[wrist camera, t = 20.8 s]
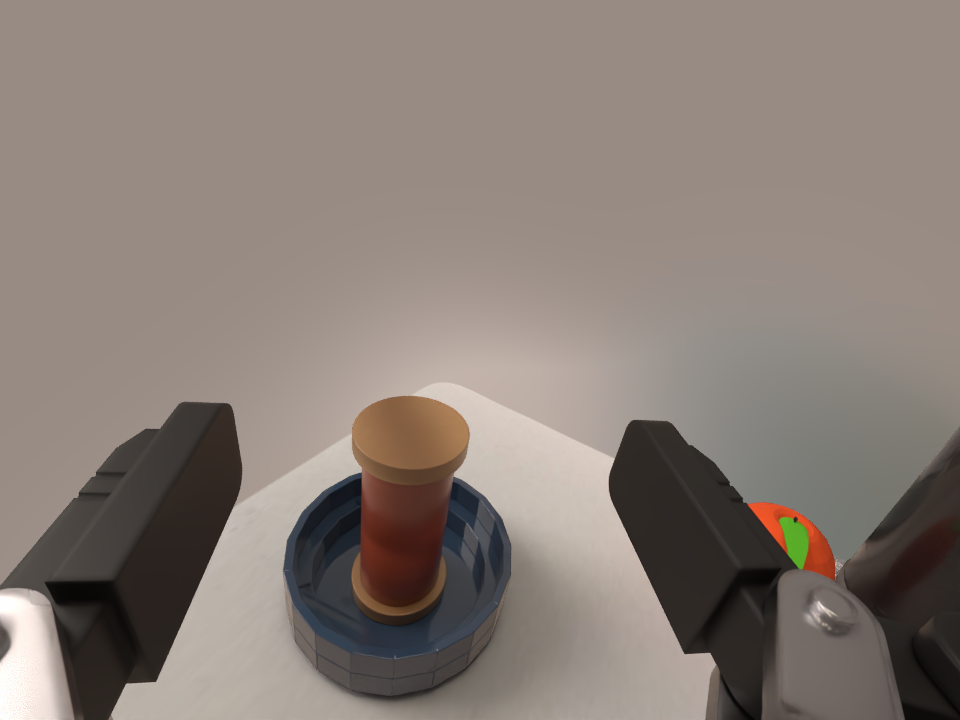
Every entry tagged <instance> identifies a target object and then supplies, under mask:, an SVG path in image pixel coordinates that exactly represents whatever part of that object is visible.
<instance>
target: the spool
mask: <svg viewBox="0 0 960 720" xmlns="http://www.w3.org/2000/svg"><path fill="white" fill-rule="evenodd" d="M469 436H470V434H469V428H468V425H467V423H466V421H465V420H464V418H463V417H462V416H461V415H460V414H459V413H458V412H457V411H456V410H454V409H453V408H451V407H450V406H448V405H446V404H444V403H442V402H439V401H436V400H433V399H429V398H425V397H418V396H399V397H392V398H387V399H384V400H381V401H378V402H376V403H373V404H371V405H370V406H368V407H367V408H365V409H364V410H363V411H362V412H361V413H360V414H359V415H358V417H357V418H356V419H355V422H354V424H353V428H352V450H353V454H354V457H355V459H356V460H357V462H358V463H359V465H360V466H361V467H362V494H361V543H360V552H359V554H358V555H357V557H356V559H355V561H354V564H353V567H352V573H351V589H352V595H353V598H354V600H355V602H356V604H357V606H358V607H359V609H360V610H361V611H362V612H363V613H364V614H365V615H366V616H368V617H369V618H371V619H372V620H374V621H377V622H379V623H382V624H386V625H405V624H409V623H413V622H415V621H418V620H420V619H421V618H423V617H425V616H426V615H427V614H429V613H430V612H431V611H432V610H433V609H434V608H435V607H436V605H437V604H438V603H439V601H440V599H441V597H442V595H443V592H444V588H445V583H446V576H447V568H446V563H445V560H444V557H443V555H442V549H443V542H444V536H445V529H446V523H447V516H448V509H449V503H450V496H451V490H452V483H453V476H454V472H455V471H456V470H457V469H458V468H459V467H460V466H461V465H462V463H463V462H464V460H465V458H466V455H467V450H468V444H469Z"/></svg>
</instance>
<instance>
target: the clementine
mask: <svg viewBox="0 0 960 720" xmlns="http://www.w3.org/2000/svg"><path fill="white" fill-rule="evenodd" d="M748 506H749V507H750V508H751V509H752V511H753V512H754V513H755V514H756V516H757V517H758V518H759V519H760V521H761V522H762V523H763V524H764V526H765V527H766V528H767V529H768V531H769V532H770V533H771V534H772V536H773V537H774V538H775V539H776V541H777V542H778V543H779V544H780V546H781V547H782V548H783V549H784V551H785V552H786V553H787V554H788V556H789V557H790V558H791V559H792V561H793V562H794V563H795V564H796V566H797V567H798V568H799V569H803V570H808V571H812V572H816V573H818V574H821V575H823V576H826V577H828V578H830V579H832V580H833V581H835V560H834V557H833V554H832V551H831V548H830V546H829V544H828V542H827V540H826V538H825V537H824V536H823V535H822V533H821V532H820V531H819V530H818V529H817V527H816V526H815V525H814V524H813V523H811V522H810V520H808V519H807V518H806V517H804V516H803V515H801V514H800V513H798V512H796V511H794V510H792V509H790V508H787V507H784V506H780V505H777V504H772V503H764V502H762V503H752V504H748Z"/></svg>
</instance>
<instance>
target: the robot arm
mask: <svg viewBox="0 0 960 720" xmlns="http://www.w3.org/2000/svg"><path fill="white" fill-rule="evenodd" d="M241 480H242V462H241V457H240V450H239V444H238V438H237V432H236V425H235V419H234V413H233V410H232V407H231V406H230V405H229V404H227V403H203V402H182V403H181V404H179V405H178V406H177V407H176V409H175V410H174V411H173V413H172V414H171V415H170V417H169V418H168V419H167V420H166V422H165V423H164V424H163V426H162V427H161V428H160V429H145V430H143V431H142V432H140V433H139V434H137V435H136V436H134V437H133V438H131V439H130V440H128V441H126V442H125V443H123V444H122V445H120V446H119V447H117V448H116V449H115V450H114V452H113V453H112V454H111V455H110V456H109V457H108V458H107V460H106V461H105V462H104V463H103V465H102V466H101V467H100V468H99V469H98V470H97V472H96V476H95V477H92V478H91V479H90V480H89V481H88V482H87V483H86V485H85V486H84V487H83V488H82V489H81V491H80V492H79V496H78V498H74V499H73V500H72V501H71V502H70V504H69V505H68V506H67V507H66V508H65V510H64V511H63V512H62V513H61V514H60V515H59V517H58V518H57V519H56V520H55V521H54V523H53V524H52V525H51V526H50V527H49V529H48V530H47V531H46V532H45V533H44V534H43V536H42V537H41V538H40V539H39V540H38V542H37V543H36V544H35V545H34V546H33V548H32V549H31V550H30V551H29V552H28V553H27V555H26V556H25V557H24V558H23V560H22V561H21V562H20V563H19V564H18V565H17V567H16V568H15V569H14V570H13V571H12V572H11V574H10V575H9V576H8V577H7V578H6V580H5V581H4V582H3V583H2V584H1V585H0V720H113V718H112V716H111V713H112V711H113V709H114V707H115V705H116V703H117V701H118V699H119V697H120V695H121V693H122V691H123V689H124V687H125V685H126V684H127V683H145V682H156V681H157V679H158V676H159V674H160V672H161V669H162V667H163V665H164V663H165V660H166V658H167V656H168V654H169V651H170V649H171V647H172V645H173V642H174V640H175V638H176V635H177V633H178V631H179V629H180V626H181V624H182V622H183V620H184V617H185V615H186V613H187V611H188V608H189V606H190V604H191V602H192V599H193V597H194V595H195V592H196V590H197V588H198V586H199V583H200V581H201V579H202V577H203V574H204V572H205V570H206V568H207V565H208V563H209V561H210V558H211V556H212V554H213V552H214V549H215V547H216V545H217V543H218V540H219V538H220V536H221V534H222V531H223V529H224V527H225V525H226V522H227V520H228V518H229V515H230V513H231V511H232V509H233V506H234V504H235V502H236V500H237V497H238V494H239V490H240V486H241ZM729 483H730V482H729V481H728V479H727V478H726V477H725V476H724V474H723V473H722V472H721V471H720V469H719V468H718V467H717V466H716V464H715V463H714V462H713V461H711V460H710V459H709V458H707V457H706V456H705V455H704V454H702V453H701V452H700V451H699V450H697V449H696V448H694V447H693V446H692V445H688V444H687V442H686V441H685V440H684V439H683V437H682V436H681V435H680V433H679V432H678V431H677V430H676V428H675V427H674V426H673V425H672V424H671V423H670V422H667V421H649V420H633V421H631V422H630V423H629V424H628V426H627V428H626V431H625V433H624V436H623V439H622V442H621V444H620V447H619V450H618V452H617V455H616V458H615V460H614V463H613V466H612V468H611V471H610V475H609V492H610V497H611V500H612V502H613V505H614V507H615V509H616V511H617V513H618V515H619V517H620V519H621V521H622V524H623V526H624V528H625V530H626V532H627V534H628V536H629V538H630V540H631V543H632V545H633V547H634V549H635V551H636V553H637V555H638V557H639V559H640V561H641V564H642V566H643V568H644V570H645V572H646V574H647V576H648V578H649V580H650V582H651V585H652V587H653V589H654V591H655V593H656V595H657V597H658V599H659V601H660V604H661V606H662V608H663V610H664V612H665V614H666V616H667V618H668V620H669V622H670V625H671V627H672V629H673V631H674V633H675V635H676V637H677V639H678V641H679V643H680V646H681V648H682V650H683V652H684V654H695V653H711V655H712V657H713V659H714V661H715V663H716V666H715V668H714V669H713V671H712V673H711V677H710V684H709V693H708V702H707V710H706V719H705V720H960V427H959V428H958V429H957V430H956V431H955V433H954V434H953V435H952V436H951V438H950V439H949V440H948V441H947V443H946V444H945V445H944V446H943V447H942V449H941V450H940V451H939V452H938V454H937V455H936V456H935V457H934V458H933V460H932V461H931V462H930V463H929V464H928V466H927V467H926V468H925V469H924V471H923V472H922V473H921V474H920V475H919V477H918V478H917V479H916V480H915V482H914V483H913V484H912V485H911V487H910V488H909V489H908V490H907V491H906V493H905V494H904V495H903V496H902V497H901V499H900V500H899V501H898V502H897V504H896V505H895V506H894V507H893V508H892V510H891V511H890V512H889V513H888V515H887V516H886V517H885V518H884V520H883V521H882V522H881V523H880V525H879V526H878V527H877V528H876V529H875V531H874V532H873V533H872V534H871V535H870V536H869V537H868V539H867V540H866V541H865V542H864V544H863V545H862V546H861V547H860V548H859V550H858V551H857V552H856V553H855V555H854V556H853V557H852V558H851V559H849V560H848V561H847V562H846V563H845V564H844V565H843V566H842V568H841V569H840V570H839V572H838V574H837V579H836V582H835V581H833V580H832V579H830V578H828V577H826V576H823V575H821V574H818V573H816V572H812V571H808V570H803V569H799V568H798V567H797V566H796V564H795V563H794V562H793V561H792V559H791V558H790V557H789V556H788V554H787V553H786V552H785V551H784V549H783V548H782V547H781V546H780V544H779V543H778V542H777V541H776V539H775V538H774V537H773V536H772V534H771V533H770V532H769V531H768V529H767V528H766V527H765V526H764V524H763V523H762V522H761V521H760V519H759V518H758V517H757V516H756V514H755V513H754V512H753V511H752V509H751V508H750V507H749V506H748V504H747V503H743V498H742V497H741V496H740V494H739V493H738V492H737V491H736V490H735V488H734V487H733V486H730V484H729Z"/></svg>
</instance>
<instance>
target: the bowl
mask: <svg viewBox="0 0 960 720" xmlns="http://www.w3.org/2000/svg"><path fill="white" fill-rule="evenodd" d="M361 494H362V472H361V473H358V474H354V475H351V476H349V477H347V478H346V479H344V480H342V481H340V482H338V483H337V484H335V485H333V486H331V487H330V488H328V489H326V490H325V491H323V492H322V493H321V494H320V495H319V496H318V497H317V498H316V499H315V500H314V501H313V502H312V503H311V504H310V505H309V506H308V507H307V508H306V509H305V510H304V511H303V512H302V513H301V515H300V517H299V519H298V521H297V523H296V525H295V527H294V528H293V530H292V532H291V534H290V536H289V538H288V540H287V545H286V552H285V560H284V567H283V577H284V586H285V596H286V605H287V612H288V616H289V619H290V623H291V627H292V631H293V635H294V639H295V641H296V643H297V644H298V646H299V647H300V648H301V650H302V651H303V652H304V654H305V655H306V656H307V658H308V659H309V660H310V662H311V663H312V664H313V665H314V667H315V668H316V669H317V670H318V671H319V672H321V673H323V674H325V675H326V676H328V677H330V678H331V679H333V680H335V681H337V682H338V683H340V684H342V685H344V686H345V687H347V688H349V689H351V690H353V691H359V692H366V693H372V694H379V695H385V696H391V695H392V696H395V695H400V694H405V693H410V692H415V691H420V690H425V689H430V688H431V687H434V686H436V685H438V684H439V683H441V682H443V681H444V680H446V679H448V678H450V677H451V676H453V675H455V674H456V673H458V672H460V671H461V670H463V669H465V667H467V666H468V665H469V664H470V663H471V661H472V660H473V659H474V658H475V657H476V655H477V654H478V653H479V652H480V651H481V650H482V648H483V647H484V646H485V645H486V644H487V643H488V641H489V640H490V638H491V635H492V633H493V630H494V628H495V625H496V622H497V620H498V617H499V615H500V612H501V609H502V605H503V602H504V598H505V594H506V591H507V587H508V583H509V580H510V575H511V543H510V540H509V537H508V535H507V532H506V529H505V526H504V523H503V520H502V519H501V517H500V515H499V514H498V513H497V512H496V510H495V509H494V508H493V506H492V505H491V504H490V502H489V501H488V500H487V499H486V497H485V496H483V495H482V494H481V493H479V492H478V491H477V490H475V489H474V488H473V487H471V486H470V485H468V484H467V483H466V482H464V481H462V480H461V479H458V478H456V477H453V483H452V490H451V496H450V503H449V509H448V516H447V523H446V529H445V536H444V542H443V549H442V555H443V557H444V560H445V563H446V568H447V576H446V583H445V588H444V592H443V595H442V597H441V599H440V601H439V603H438V604H437V605H436V607H435V608H434V609H433V610H432V611H431V612H430V613H429V614H427V615H426V616H425V617H423V618H421V619H420V620H418V621H415V622H413V623H409V624H405V625H386V624H382V623H379V622H377V621H374V620H372V619H371V618H369V617H368V616H366V615H365V614H364V613H363V612H362V611H361V610H360V609H359V607H358V606H357V604H356V602H355V600H354V598H353V595H352V589H351V573H352V567H353V564H354V561H355V559H356V557H357V555H358V554H359V552H360V543H361Z"/></svg>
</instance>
